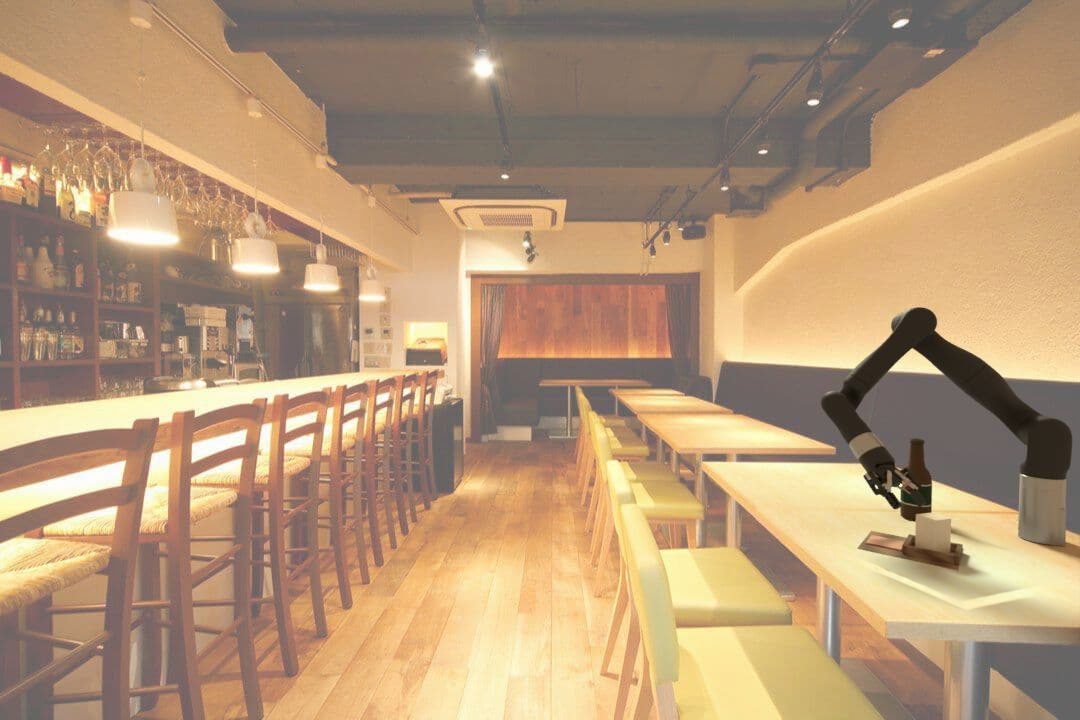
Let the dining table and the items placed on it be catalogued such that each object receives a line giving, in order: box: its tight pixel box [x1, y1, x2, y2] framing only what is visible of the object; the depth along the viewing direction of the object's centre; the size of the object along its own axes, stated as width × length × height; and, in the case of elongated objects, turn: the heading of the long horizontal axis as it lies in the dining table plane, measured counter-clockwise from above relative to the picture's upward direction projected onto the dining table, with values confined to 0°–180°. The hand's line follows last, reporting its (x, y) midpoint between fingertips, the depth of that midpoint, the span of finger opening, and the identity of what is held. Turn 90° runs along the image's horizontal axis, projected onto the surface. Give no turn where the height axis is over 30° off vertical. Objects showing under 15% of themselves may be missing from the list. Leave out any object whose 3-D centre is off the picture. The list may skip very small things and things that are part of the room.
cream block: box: [914, 512, 952, 554], centre depth 133 cm, size 5×5×9 cm
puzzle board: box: [856, 530, 964, 571], centre depth 136 cm, size 20×18×3 cm
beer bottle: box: [899, 438, 933, 522], centre depth 165 cm, size 8×8×24 cm
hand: (910, 506), depth 139 cm, fingers open, 8 cm apart
